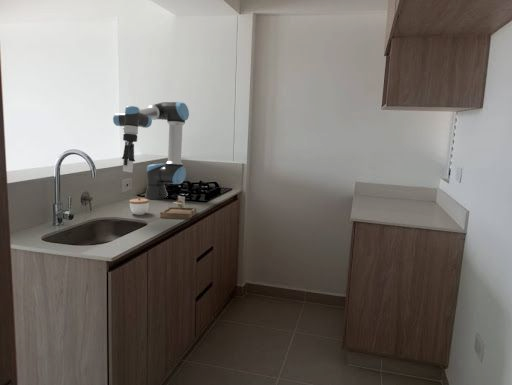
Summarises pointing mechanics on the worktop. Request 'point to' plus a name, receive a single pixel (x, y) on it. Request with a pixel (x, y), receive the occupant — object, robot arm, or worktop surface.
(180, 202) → the architectural model
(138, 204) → the lidded jar
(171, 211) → the wooden tray
